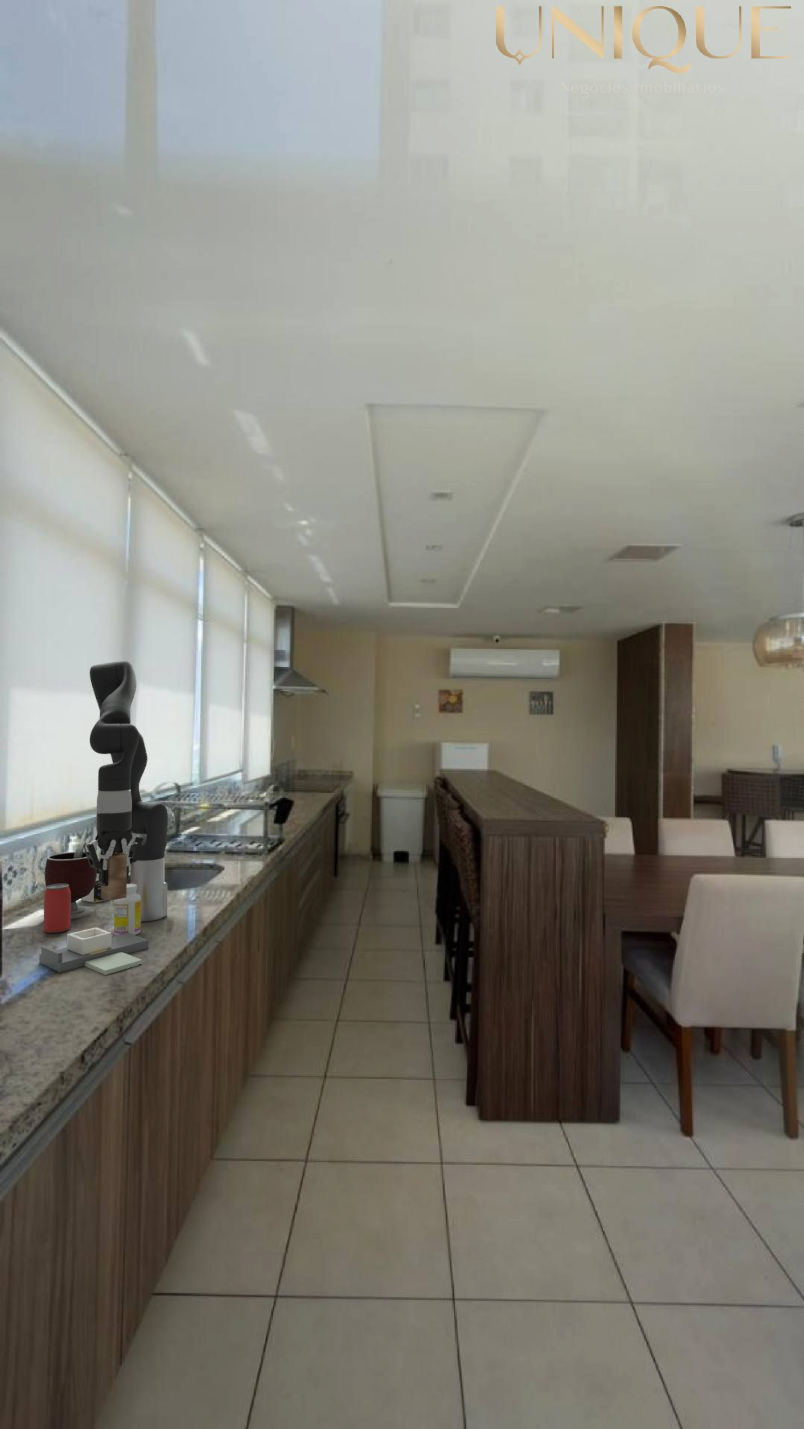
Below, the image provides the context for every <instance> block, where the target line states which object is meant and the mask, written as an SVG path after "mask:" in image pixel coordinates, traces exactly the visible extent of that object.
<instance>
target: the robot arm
mask: <svg viewBox="0 0 804 1429" xmlns="http://www.w3.org/2000/svg"><path fill="white" fill-rule="evenodd" d="M89 678H90V679H89V680H90V684H91V687H92V690H93V694H94V697H95V700H96V703H97V706H98V708H99V718H98V720H97V721H96V722H95V724H94V725H93V727H92V729H91V732H90V734H89V745H90V749H91V750H93V752H95V753H97V754H100V755H110V757H111V762H112V763H107V764H103V765H101V766H100V767H99V768H98V771H97V772H98V776H97V783H98V784H97V797H96V833H97V834H96V837H95V839H94V840H93V841H90V842H86V843H85V844H84V845H83V847H84V849H83V851H84V852H85V853H86V856H87V858H88V861H89V864H90V867H94V868H97V869H98V870H99V883H100V884H101V885H102V886H108V870H107V868H108V865H109V859H110V856H112V854H115V853H122V854H127V880H129V878H130V884H136V885H137V890H136V893H137V894H139V895H140V897H141V922H153V921H158V920H160V919H162V918H164V917H167V916H168V882H165V854H166V848H167V844H168V843H167V839H168V824H169V814H168V809H167V807H166V805H165V804H164V803H162V802H158V801H157V802H155V801H154V802H152V801H143V800H142V797H141V794H140V784H141V780H142V778H143V774H144V773H145V770H146V767H147V764H148V753H147V748H146V745H145V744H146V743H145V740H144V737H143V735H142V734H141V733H140V731H139V730H138V727H136V726H135V725H134V724H132V723H131V709H132V708H131V707H132V704H133V701H134V698H135V694H136V691H137V677H136V672H135V669H134V667H133V665H132V664H131V662H129V661H128V660H118V661H117V660H116V661H110V662H103V663H98V664H94V665H92V666H91V667H90V668H89ZM133 834H135V835H136V836H134V835H133ZM137 835H146V838H145V842H144V837H142V836H137ZM143 842H144V843H143ZM129 844H130V847H129V849H128V846H129ZM98 848H99V849H100V850H99V853H98V854H97V849H98Z"/></svg>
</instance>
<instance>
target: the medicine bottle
mask: <svg viewBox="0 0 804 1429" xmlns="http://www.w3.org/2000/svg"><path fill="white" fill-rule="evenodd" d="M80 900H81V901H84V902H89V903H95V904H96V903H100V902H103V901H107V900H106V899H102V898H101V884H100V883H99V870H98V869H97V877H96V883H95V886H94V888H93V889H92V891H91V892H90V894H89V895H87V896H85V897H83V898H81V899H80Z"/></svg>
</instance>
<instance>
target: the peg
mask: <svg viewBox="0 0 804 1429" xmlns="http://www.w3.org/2000/svg"><path fill="white" fill-rule="evenodd" d="M107 870H108V886H102V885H101V898H102V899H106V900H105V901H109V902H110V901H114V900H116V899H121V898H126V896H127V884H128V882H127V881H128V879H127V854H122V853H115V854H112V856H110V859H109V865H108V868H107Z"/></svg>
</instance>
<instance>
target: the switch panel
mask: <svg viewBox="0 0 804 1429" xmlns="http://www.w3.org/2000/svg"><path fill="white" fill-rule="evenodd" d="M149 942H150V940H149V939H148V938H144V937H142V936H139V935H133V934H130V933H123V934H119V935H115V934H114V935H112V946H111V948H107V949H103V950H100V951H96V952H92V953H88V954H84V955H81V954H78V953H76V952H73V951H71V950H68V949H67V947H63V948H60V949H59V948H58V949H55V948H52V947H50V946H48V945H43V946H41V948H40V949H41V951H40V952H41V953H39V956H38V959H39V960H38V962H39V964H41V965H43V966H45V967H46V968H49V969H50V970H53V971H55V972H58V973H63V972H66V971H70V970H73V969H78V968H81V967H85V962H87V961H90V960H94V959H98V958H101V957H105V956H109V955H112V954H116V953H120V952H123V953H126V954H128V955H129V954H131V953H132V954H133V953H135V952H138V951H142V950H146V949H149V948H150V947H149V946H150V945H149Z"/></svg>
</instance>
